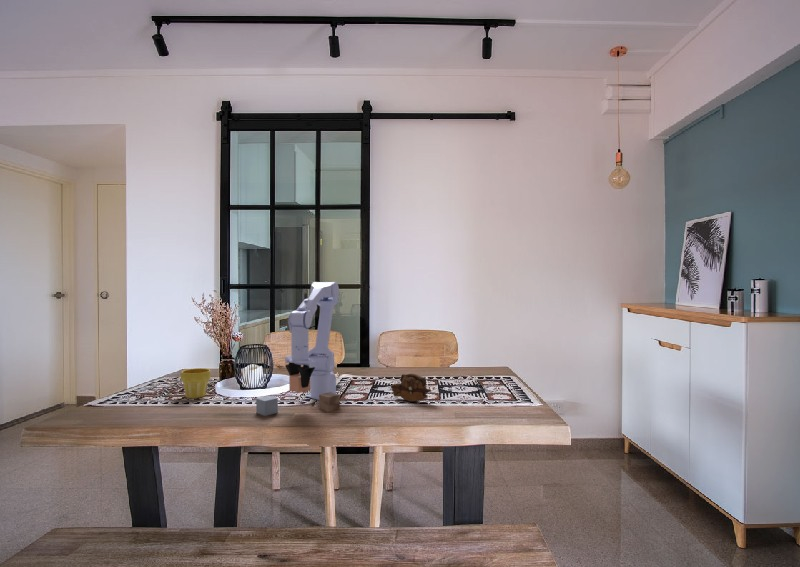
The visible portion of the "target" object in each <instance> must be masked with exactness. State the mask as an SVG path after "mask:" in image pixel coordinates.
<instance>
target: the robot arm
mask: <svg viewBox="0 0 800 567" xmlns="http://www.w3.org/2000/svg"><path fill="white" fill-rule="evenodd" d="M339 296H340V288H339V284H338V283H337V282H336V281H331V282H328V281H325V282H324V281H323V282H322V281H321V282H319V281H313V282H312V283H311V285H310V294H309V296H308V298H304V300H303V301H302V302H301V303H300V305H299V306H298V307H297V308H296V310H293V311H292V312H289V315H288V319H287V322H288V323H287V324H288V326H289V333H291V334H290V335H291V336H290V337H291V338H290V340H291V341H290V342H291V343H290V344H291V349H290V350H291V355H289V356H285V357H284V358H285V359H284V362H285V366H284V367H285V368H286V370H287V372H288V374H289V376H290V375H295V374H300V376H301V385H302V388H305V387H308V385H309V381H310V393H308V394H306V395H305V397H307V398H311V399H314V400H318V401H319V395H320V394H324V393H328V392H332V393H336V394H337V377H336V374H335V373H334V371H333V370H334V369H335V354H334V352H333V351H332V350H331V349H330V348H329V345H330V344H329V342H330V335H331V330H332V329H331V328H332V321H333V320H332V319H333V312H334V311H333V310H334V307H335V306H336V305H338V301H339ZM318 306H319V307H320V311H319V318H318V324H317V333H316V339H315V346H314V347H312V349H310V350H309V328H310V327H311V326H312V321H313V316H314V314H315V313H316V312H317V309H318ZM286 363H287V364H286Z"/></svg>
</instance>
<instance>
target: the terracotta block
mask: <svg viewBox="0 0 800 567" xmlns="http://www.w3.org/2000/svg"><path fill="white" fill-rule="evenodd" d="M288 378H289V389H288V390H289V391H290V392H294V393H303V392H307V391H311V380H310V381H309V385H308V387H305V388H302V385H301V376H300V373H299V374H295V375H289V377H288Z"/></svg>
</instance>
